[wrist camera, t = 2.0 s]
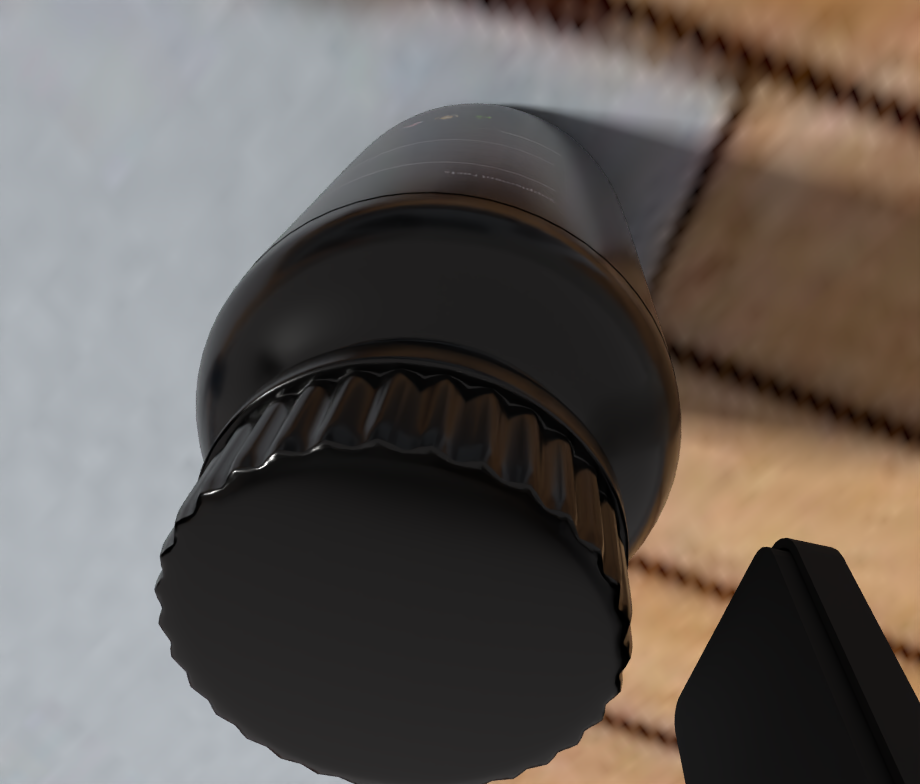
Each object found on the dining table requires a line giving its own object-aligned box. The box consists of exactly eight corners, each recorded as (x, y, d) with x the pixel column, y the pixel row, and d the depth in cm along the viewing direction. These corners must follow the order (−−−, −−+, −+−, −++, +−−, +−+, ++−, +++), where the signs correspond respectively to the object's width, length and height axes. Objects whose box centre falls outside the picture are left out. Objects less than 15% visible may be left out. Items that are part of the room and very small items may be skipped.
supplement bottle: (634, 367, 19) (733, 863, 9) (366, 389, 20) (173, 853, 10) (622, 70, 16) (758, 301, 6) (302, 114, 17) (-87, 377, 7)
